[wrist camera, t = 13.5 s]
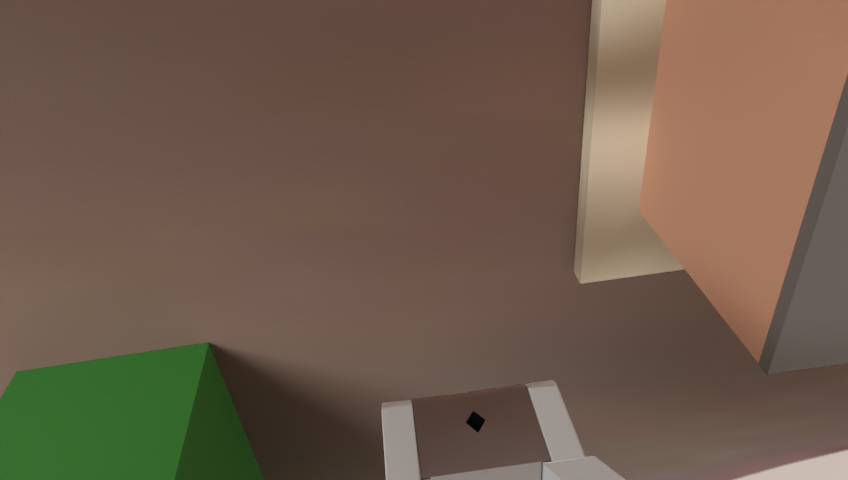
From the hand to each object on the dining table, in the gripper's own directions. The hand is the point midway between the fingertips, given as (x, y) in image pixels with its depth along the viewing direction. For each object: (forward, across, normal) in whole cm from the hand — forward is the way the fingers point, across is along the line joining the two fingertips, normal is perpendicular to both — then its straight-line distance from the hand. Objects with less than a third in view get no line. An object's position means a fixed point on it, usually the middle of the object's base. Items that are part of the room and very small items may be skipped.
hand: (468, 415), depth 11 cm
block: (+11, -10, -1) cm, 15 cm away
